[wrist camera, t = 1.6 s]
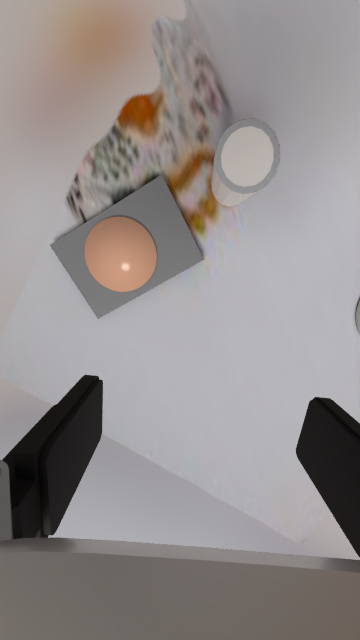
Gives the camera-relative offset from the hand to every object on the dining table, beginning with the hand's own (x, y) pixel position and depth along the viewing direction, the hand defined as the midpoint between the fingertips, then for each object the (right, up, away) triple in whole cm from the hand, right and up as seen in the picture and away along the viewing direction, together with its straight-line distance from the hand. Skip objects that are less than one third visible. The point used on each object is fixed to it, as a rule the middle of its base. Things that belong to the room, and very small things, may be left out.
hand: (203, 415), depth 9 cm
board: (-8, +14, +21) cm, 27 cm away
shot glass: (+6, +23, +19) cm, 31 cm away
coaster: (-9, +13, +20) cm, 26 cm away
